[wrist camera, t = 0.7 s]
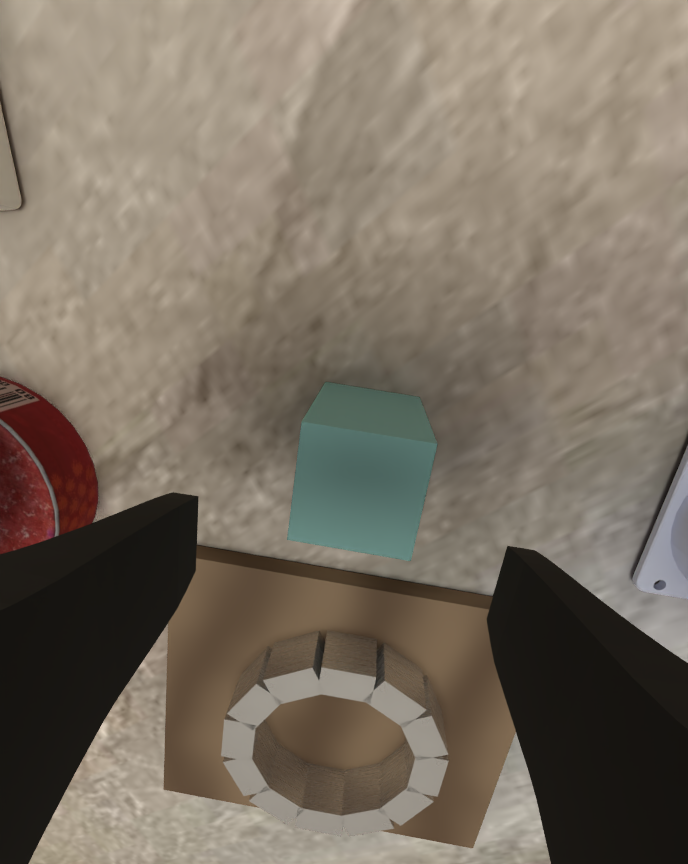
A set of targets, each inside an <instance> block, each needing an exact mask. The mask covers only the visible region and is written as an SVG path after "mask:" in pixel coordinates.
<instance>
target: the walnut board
mask: <svg viewBox="0 0 688 864" xmlns="http://www.w3.org/2000/svg"><path fill="white" fill-rule="evenodd" d="M492 598H493V597H492V596H486V595H480V594H474V593H469V592H463V591H457V590H451V589H446V588H440V587H434V586H428V585H423V584H417V583H411V582H405V581H400V580H394V579H388V578H382V577H377V576H371V575H365V574H359V573H354V572H348V571H342V570H336V569H331V568H325V567H319V566H314V565H308V564H302V563H296V562H291V561H285V560H279V559H273V558H268V557H262V556H256V555H250V554H245V553H239V552H233V551H227V550H222V549H216V548H210V547H204V546H199V545H197V551H196V572H195V574H194V576H193V578H192V580H191V582H190V584H189V586H188V589H187V591H186V593H185V595H184V597H183V599H182V600H181V602H180V604H179V606H178V608H177V610H176V611H175V613H174V615H173V616H172V618H171V619H170V621H169V622H168V654H167V690H166V725H165V761H164V790H169V791H174V792H179V793H184V794H190V795H195V796H200V797H205V798H211V799H216V800H221V801H226V802H232V803H237V804H242V805H248V806H253V807H258V806H256V805H255V804H253V803H251V802H250V801H249V799H250V795H247V796H243V794H242V792H241V791H240V789H239V788H238V786H237V784H236V783H235V781H234V780H233V778H232V776H231V775H230V773H229V771H228V770H227V768H226V767H225V765H224V763H223V760H224V757H223V756H221V751H222V739H223V727H224V718H225V716H226V713H227V710H228V707H229V705H230V702H231V699H232V696H233V694H234V691H235V688H236V685H237V683H238V680H239V679H240V676H241V674H242V673H243V672H244V671H245V670H246V669H247V668H248V667H249V666H250V664H251V663H252V662H253V661H254V660H255V659H256V658H257V657H258V656H259V655H260V654H261V653H262V652H263V651H264V650H265V649H266V648H267V647H270V648H271V649H273V645H274V643H275V642H279V641H282V640H286V639H290V638H294V637H297V636H301V635H305V634H308V633H312V632H316V631H319V632H320V634H321V636H322V638H323V640H324V642H325V641H326V635H327V630H328V631H334V632H340V633H345V634H351V635H356V636H362V637H368V638H373V639H377V648H378V647H380V646H381V645H382V644H383V643H384V642H385V643H386V644H387V645H389V646H390V647H392V648H393V649H394V650H396V651H397V652H399V653H400V654H401V655H403V656H404V657H406V658H407V659H408V660H410V661H411V662H413V663H414V664H415V665H417V666H418V667H420V668H421V669H422V673H423V675H427V677H428V679H429V681H430V684H431V686H432V689H433V691H434V693H435V696H436V698H437V700H438V703H439V705H440V708H441V710H442V715H443V722H444V728H445V735H446V742H447V749H448V759H449V762H448V765H447V768H446V771H445V775H444V778H443V781H442V784H441V787H440V791H439V794H438V797H437V796H433V799H434V802H433V803H431V804H430V805H429V806H427V807H426V808H425V809H423V810H422V811H420V812H419V813H418V814H416V815H415V816H414V817H412V818H411V819H409V820H408V821H407V822H405V823H404V824H403V825H401V826H400V825H399V824H397V823H396V822H394V829H389V830H383V831H384V832H389V833H395V834H400V835H405V836H411V837H416V838H421V839H426V840H432V841H437V842H442V843H447V844H453V845H458V846H463V847H468V848H473V846H474V844H475V841H476V838H477V836H478V833H479V830H480V827H481V825H482V822H483V819H484V817H485V814H486V811H487V808H488V806H489V803H490V800H491V798H492V795H493V792H494V789H495V787H496V784H497V781H498V779H499V776H500V773H501V770H502V768H503V765H504V762H505V760H506V757H507V754H508V751H509V749H510V746H511V743H512V740H513V738H514V735H515V732H516V730H515V727H514V724H513V721H512V718H511V715H510V712H509V708H508V705H507V702H506V699H505V696H504V693H503V690H502V686H501V683H500V680H499V677H498V674H497V670H496V667H495V664H494V659H493V654H492V649H491V644H490V638H489V632H488V626H487V620H486V619H487V616H488V612H489V609H490V605H491V602H492ZM265 720H266V722H267V724H268V726H269V727H270V729H271V731H272V733H273V734H274V736H275V738H276V740H277V742H278V743H279V744H280V745H281V746H283V747H284V748H286V749H287V750H289V751H290V752H292V753H294V754H295V755H297V756H298V757H300V758H301V759H303V760H304V761H306V762H307V763H310V764H316V765H321V766H326V767H332V768H337V769H342V770H347V769H352V768H357V767H362V766H367V765H371V764H376V763H380V762H381V761H383V760H384V759H385V758H386V757H388V756H389V755H390V754H391V753H393V752H394V751H395V750H396V749H397V748H399V747H400V746H401V745H402V744H404V743H405V739H406V736H405V734H404V732H403V730H402V728H401V726H400V725H398V724H397V723H395V722H394V721H392V720H391V719H390V718H388V717H387V716H385V715H384V714H382V713H381V712H379V711H378V710H376V709H375V708H373V707H372V706H371V705H369V704H368V703H366V702H361V701H355V700H350V699H344V698H339V697H333V696H328V695H322V694H321V695H317V696H313V697H308V698H304V699H300V700H296V701H292V702H288V703H284V704H280V705H279V706H278V707H277V708H276V709H275V710H274V711H273V712H272V713H271V714H270V715H269V716H268V717H267V718H266V719H265ZM258 808H259V807H258Z"/></svg>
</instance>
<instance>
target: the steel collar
mask: <svg viewBox="0 0 688 864" xmlns="http://www.w3.org/2000/svg"><path fill="white" fill-rule="evenodd" d="M321 694H322V695H328V696H333V697H339V698H344V699H350V700H355V701H361V702H366V703H368V704H369V705H371V706H372V707H373V708H375V709H376V710H378V711H379V712H381V713H382V714H384V715H385V716H387V717H388V718H390V719H391V720H392V721H394V722H395V723H397V724H398V725H400V726H401V728H402V730H403V732H404V734H405V736H406V739H405V743H404V744H402V745H401V746H400V747H399V748H397V749H396V750H395V751H394V752H393V753H391V754H390V755H389V756H388V757H386V758H385V759H384V760H383V761H381V762H380V763H376V764H371V765H367V766H362V767H357V768H352V769H347V770H342V769H337V768H332V767H326V766H321V765H316V764H310V763H307V762H306V761H304V760H303V759H301V758H300V757H298V756H297V755H295V754H294V753H292V752H290V751H289V750H287V749H286V748H284V747H283V746H281V745H280V744H279V743H278V742H277V740H276V738H275V736H274V734H273V733H272V731H271V729H270V727H269V726H268V724H267V722H266V720H265V719H266V718H267V717H268V716H269V715H270V714H271V713H272V712H273V711H274V710H275V709H276V708H277V707H278V706H279V705H280V704H284V703H288V702H292V701H296V700H300V699H304V698H308V697H313V696H317V695H321ZM221 756H223V757H224V760H223V763H224V765H225V767H226V768H227V770H228V771H229V773H230V775H231V776H232V778H233V780H234V781H235V783H236V784H237V786H238V788H239V789H240V791H241V792H242V794H243V796H247V795H250V799H249V801H250V802H251V803H253V804H255V805H256V806H258V807H259V808H261V809H263V810H264V811H266V812H268V813H269V814H271V815H272V816H274V817H276V818H277V819H279V820H280V821H282V822H284V823H285V824H289V823H290V822H291V821H292V820H294V819H295V818H296V821H295V828H300V829H305V830H310V831H316V832H321V833H326V834H331V835H337V836H341V835H342V830H343V827H344V828H345V830H346V832H347V834H348V836H355V835H360V834H366V833H372V832H377V831H383V830H389V829H394V822H396V823H397V824H399V825H400V826H401V825H403V824H404V823H405V822H407V821H408V820H409V819H411V818H412V817H414V816H415V815H416V814H418V813H419V812H420V811H422V810H423V809H425V808H426V807H427V806H429V805H430V804H431V803H433V802H434V799H433V796H437V797H438V794H439V791H440V787H441V784H442V781H443V778H444V775H445V771H446V768H447V765H448V762H449V759H448V749H447V742H446V735H445V728H444V722H443V715H442V710H441V708H440V705H439V703H438V700H437V698H436V696H435V693H434V691H433V689H432V686H431V684H430V681H429V679H428V677H427V675H423V673H422V669H421V668H420V667H418V666H417V665H415V664H414V663H413V662H411V661H410V660H408V659H407V658H406V657H404V656H403V655H401V654H400V653H399V652H397V651H396V650H394V649H393V648H392V647H390V646H389V645H387V644H386V643H385V642H384V643H383V644H382V645H381V646H380V647H378V648H377V639H373V638H368V637H362V636H356V635H351V634H345V633H340V632H334V631H328V630H327V635H326V641H325V642H324V640H323V638H322V636H321V634H320V632H319V631H316V632H312V633H308V634H305V635H301V636H297V637H294V638H290V639H286V640H282V641H279V642H275V643H274V645H273V649H271V648H270V647H267V648H266V649H265V650H264V651H263V652H262V653H261V654H260V655H259V656H258V657H257V658H256V659H255V660H254V661H253V662H252V663H251V664H250V666H249V667H248V668H247V669H246V670H245V671H244V672H243V673H242V674H241V676H240V679H239V680H238V683H237V685H236V688H235V691H234V694H233V696H232V699H231V702H230V705H229V707H228V710H227V713H226V716H225V718H224V727H223V739H222V751H221Z"/></svg>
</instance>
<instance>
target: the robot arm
mask: <svg viewBox="0 0 688 864" xmlns="http://www.w3.org/2000/svg"><path fill="white" fill-rule="evenodd" d="M197 522H198V496H192V495H186V494H180V493H169V494H166V495H163V496H160V497H157V498H154V499H152V500H149V501H147V502H144V503H142V504H139V505H137V506H134V507H132V508H129V509H127V510H124V511H122V512H119V513H117V514H114V515H112V516H109V517H107V518H104V519H102V520H99V521H97V522H94V523H92V524H89V525H86V526H83V527H81V528H78V529H75V530H72V531H70V532H67V533H64V534H61V535H59V536H56V537H53V538H50V539H48V540H45V541H42V542H39V543H36V544H33V545H30V546H26V547H23V548H20V549H17V550H13V551H10V552H6V553H3V554H0V864H28V863H29V861H30V859H31V857H32V855H33V853H34V851H35V849H36V847H37V845H38V843H39V841H40V839H41V837H42V835H43V833H44V831H45V829H46V828H47V826H48V824H49V822H50V820H51V818H52V816H53V814H54V812H55V810H56V808H57V806H58V805H59V803H60V801H61V799H62V797H63V795H64V793H65V791H66V789H67V787H68V785H69V783H70V782H71V780H72V778H73V776H74V774H75V772H76V770H77V768H78V767H79V765H80V763H81V761H82V759H83V757H84V756H85V754H86V752H87V750H88V748H89V747H90V745H91V743H92V741H93V739H94V737H95V736H96V734H97V732H98V730H99V728H100V726H101V725H102V723H103V721H104V719H105V718H106V716H107V715H108V713H109V711H110V710H111V708H112V706H113V705H114V703H115V702H116V700H117V698H118V697H119V695H120V694H121V692H122V691H123V689H124V688H125V686H126V685H127V683H128V682H129V681H130V679H131V678H132V676H133V675H134V673H135V672H136V670H137V669H138V667H139V666H140V664H141V663H142V661H143V660H144V658H145V657H146V655H147V654H148V652H149V651H150V649H151V648H152V646H153V645H154V643H155V642H156V640H157V639H158V637H159V636H160V634H161V633H162V631H163V630H164V628H165V627H166V625H167V624H168V622H169V621H170V619H171V618H172V616H173V615H174V613H175V611H176V610H177V608H178V606H179V604H180V602H181V600H182V599H183V597H184V595H185V593H186V591H187V589H188V586H189V584H190V582H191V580H192V578H193V576H194V574H195V572H196V551H197ZM658 580H660V582H659V583H658V584H654V583H655V582H656V581H658ZM632 581H633V584H634V585H635V586H636V587H637V588H638V589H639V590H640V591H643V592H648V593H653V594H659V595H665V596H671V597H677V598H682V599H688V446H687V448H686V451H685V453H684V455H683V458H682V460H681V463H680V465H679V467H678V470H677V472H676V475H675V477H674V479H673V482H672V484H671V487H670V489H669V491H668V494H667V496H666V498H665V501H664V503H663V506H662V508H661V510H660V513H659V515H658V518H657V520H656V522H655V525H654V527H653V530H652V532H651V534H650V537H649V539H648V541H647V544H646V546H645V549H644V551H643V553H642V556H641V558H640V561H639V563H638V565H637V568H636V570H635V573H634V575H633V578H632ZM486 620H487V626H488V632H489V638H490V644H491V649H492V654H493V659H494V664H495V667H496V670H497V674H498V677H499V680H500V683H501V686H502V690H503V693H504V696H505V699H506V702H507V705H508V708H509V712H510V715H511V718H512V721H513V724H514V727H515V730H516V733H517V736H518V739H519V743H520V746H521V749H522V752H523V755H524V758H525V761H526V764H527V767H528V770H529V774H530V777H531V781H532V785H533V788H534V792H535V795H536V799H537V803H538V807H539V812H540V816H541V821H542V825H543V830H544V834H545V838H546V843H547V847H548V852H549V856H550V861H551V864H688V663H687V662H685V661H684V660H682V659H681V658H679V657H678V656H676V655H675V654H673V653H672V652H670V651H669V650H667V649H666V648H665V647H663V646H662V645H660V644H659V643H658V642H656V641H655V640H653V639H652V638H651V637H649V636H648V635H646V634H645V633H644V632H642V631H641V630H639V629H638V628H637V627H635V626H634V625H633V624H631V623H630V622H629V621H627V620H626V619H625V618H623V617H622V616H621V615H619V614H618V613H617V612H615V611H614V610H613V609H611V608H610V607H609V606H607V605H606V604H605V603H604V602H602V601H601V600H600V599H598V598H597V597H596V596H595V595H593V594H592V593H591V592H589V591H588V590H587V589H586V588H584V587H583V586H582V585H581V584H579V583H578V582H577V581H576V580H574V579H573V578H572V577H571V576H569V575H568V574H567V573H565V572H564V571H563V570H562V569H560V568H559V567H558V566H556V565H555V564H554V563H552V562H551V561H550V560H548V559H547V558H546V557H544V556H543V555H541V554H540V553H538V552H537V551H535V550H529V549H523V548H517V547H511V546H507V550H506V553H505V557H504V560H503V564H502V567H501V571H500V574H499V577H498V581H497V584H496V588H495V591H494V595H493V598H492V602H491V605H490V609H489V612H488V616H487V619H486Z"/></svg>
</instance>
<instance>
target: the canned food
mask: <svg viewBox="0 0 688 864" xmlns="http://www.w3.org/2000/svg"><path fill="white" fill-rule="evenodd" d="M97 504H98V481H97V477H96V472H95V468H94V464H93V461H92V459H91V457H90V454H89V452H88V450H87V447H86V445H85V444H84V442H83V440H82V439H81V437H80V436H79V434H78V433H77V431H76V430H75V428H74V427H73V425H72V424H71V423H70V422H69V421H68V420H67V419H66V418H65V417H64V416H63V414H62V413H61V412H60V411H59V410H58V409H57V408H55V407H54V406H53V405H52V404H50V403H49V402H48V401H47V400H46V399H44V398H43V397H42V396H41V395H39V394H37V393H35V392H34V391H32V390H30V389H28V388H27V387H25V386H23V385H21V384H19V383H16V382H13V381H11V380H8V379H5V378H3V377H0V554H3V553H6V552H10V551H13V550H17V549H20V548H23V547H26V546H30V545H33V544H36V543H39V542H42V541H45V540H48V539H50V538H53V537H56V536H59V535H61V534H64V533H67V532H70V531H72V530H75V529H78V528H81V527H83V526H86V525H89V524H92V522H93V520H94V518H95V514H96V509H97Z"/></svg>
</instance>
